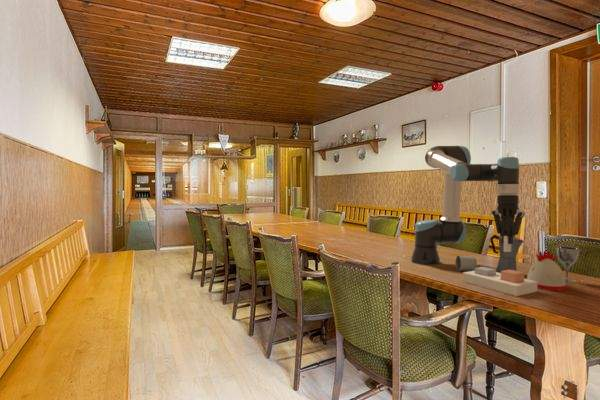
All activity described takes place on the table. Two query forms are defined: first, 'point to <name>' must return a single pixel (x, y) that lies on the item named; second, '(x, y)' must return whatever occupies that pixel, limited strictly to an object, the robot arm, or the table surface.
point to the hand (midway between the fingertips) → (507, 251)
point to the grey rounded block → (485, 271)
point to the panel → (500, 283)
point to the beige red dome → (547, 273)
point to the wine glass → (567, 258)
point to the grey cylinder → (465, 263)
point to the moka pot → (506, 254)
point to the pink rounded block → (512, 276)
